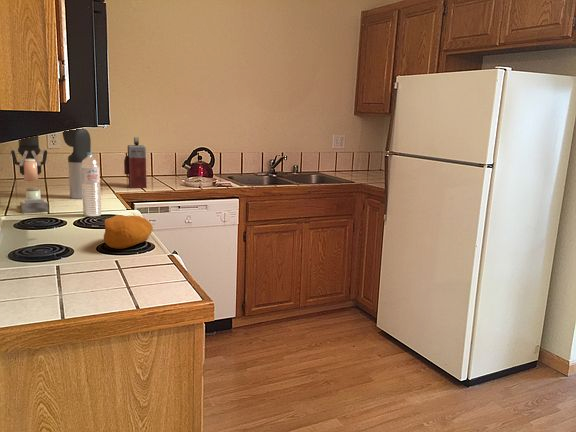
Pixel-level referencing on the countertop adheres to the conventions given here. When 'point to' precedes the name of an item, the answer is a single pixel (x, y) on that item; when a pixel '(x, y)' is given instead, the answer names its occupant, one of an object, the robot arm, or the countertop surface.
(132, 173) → the red grey square bottle
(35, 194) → the sage jar
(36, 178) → the terracotta jar
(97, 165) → the water bottle
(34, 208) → the lane
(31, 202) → the plate
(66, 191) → the countertop surface
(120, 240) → the bread
